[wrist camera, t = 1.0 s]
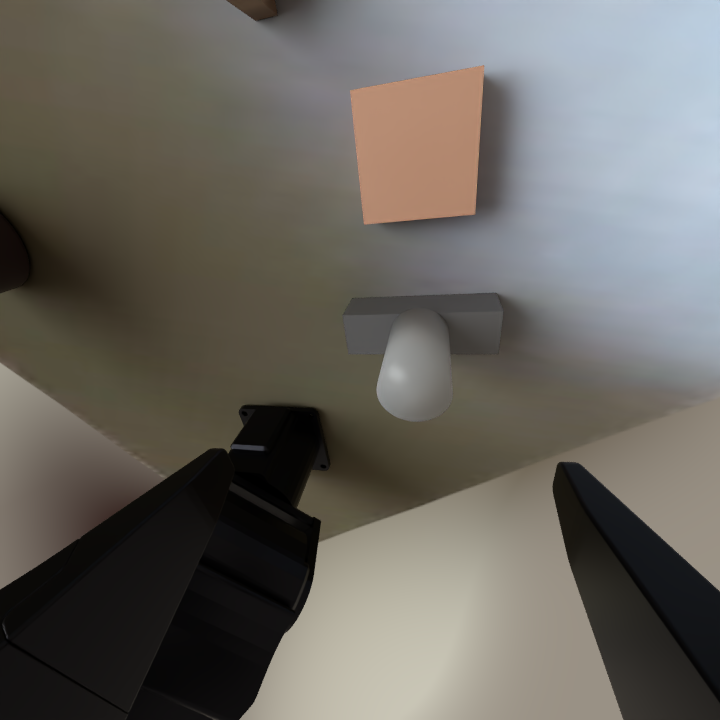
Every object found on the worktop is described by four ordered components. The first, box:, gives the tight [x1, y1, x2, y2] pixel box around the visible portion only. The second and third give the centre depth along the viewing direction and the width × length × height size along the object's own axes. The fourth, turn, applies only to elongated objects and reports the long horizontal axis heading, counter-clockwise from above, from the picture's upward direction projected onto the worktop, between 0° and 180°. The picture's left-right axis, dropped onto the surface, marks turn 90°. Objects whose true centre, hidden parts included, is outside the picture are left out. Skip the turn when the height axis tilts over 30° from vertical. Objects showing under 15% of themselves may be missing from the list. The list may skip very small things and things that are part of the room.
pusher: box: [343, 293, 504, 422], centre depth 16 cm, size 3×8×8 cm, turn 97°
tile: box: [350, 65, 484, 224], centre depth 15 cm, size 5×5×2 cm
